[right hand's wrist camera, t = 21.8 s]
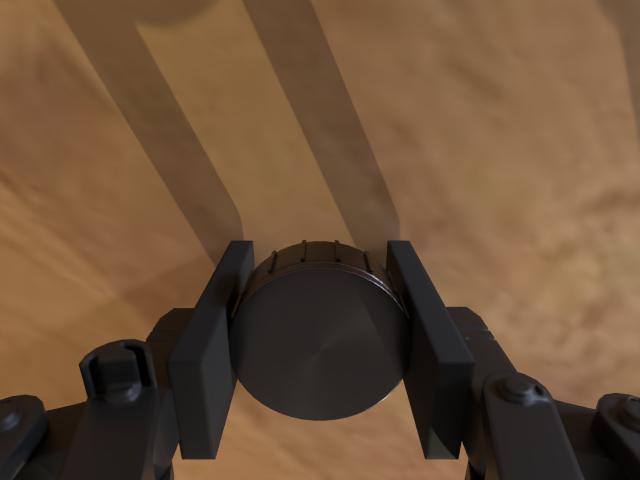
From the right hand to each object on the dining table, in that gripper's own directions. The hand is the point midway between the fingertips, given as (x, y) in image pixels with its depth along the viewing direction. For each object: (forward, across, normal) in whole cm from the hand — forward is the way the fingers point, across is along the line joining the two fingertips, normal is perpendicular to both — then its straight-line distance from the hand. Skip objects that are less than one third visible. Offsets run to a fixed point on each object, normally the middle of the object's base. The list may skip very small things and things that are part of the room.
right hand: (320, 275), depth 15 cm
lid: (-4, 0, 0) cm, 4 cm away
